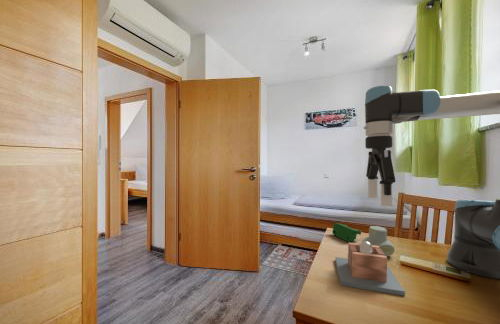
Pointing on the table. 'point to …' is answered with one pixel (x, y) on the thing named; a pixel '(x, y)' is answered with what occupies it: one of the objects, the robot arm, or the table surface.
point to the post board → (367, 280)
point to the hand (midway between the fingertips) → (379, 201)
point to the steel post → (365, 247)
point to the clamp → (345, 232)
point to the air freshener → (380, 239)
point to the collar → (367, 263)
